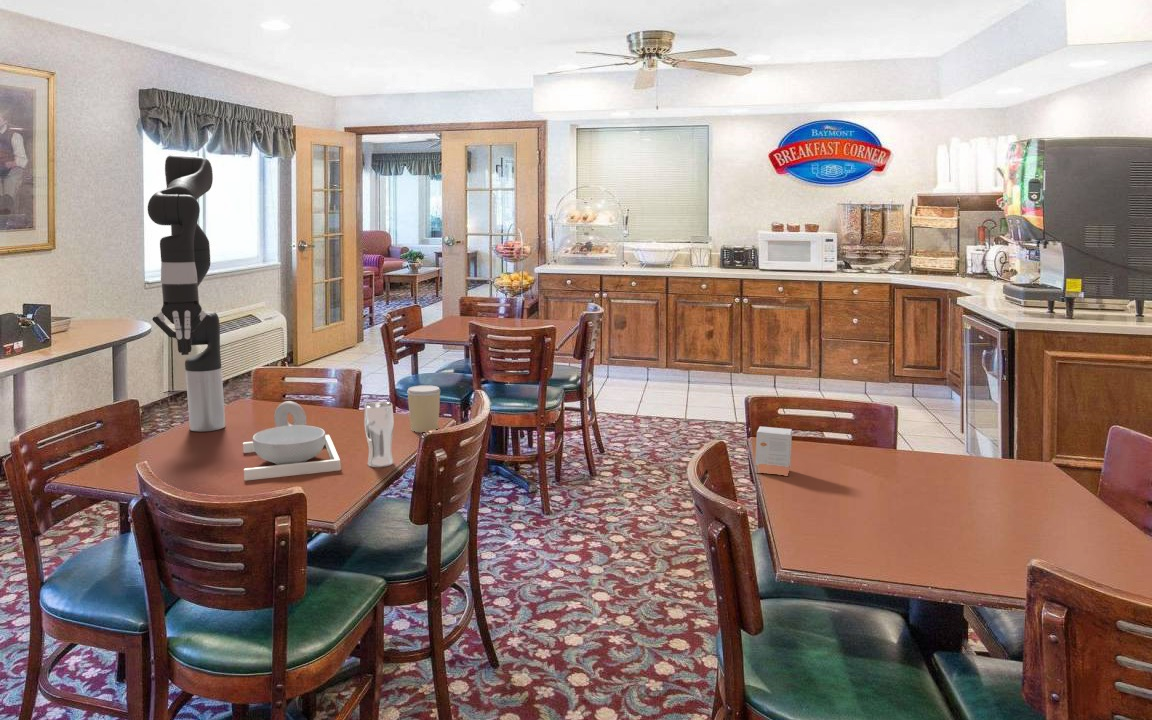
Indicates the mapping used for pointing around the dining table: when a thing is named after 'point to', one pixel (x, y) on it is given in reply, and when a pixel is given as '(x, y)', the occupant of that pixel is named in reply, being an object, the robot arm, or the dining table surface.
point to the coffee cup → (424, 407)
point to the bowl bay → (293, 465)
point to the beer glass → (379, 433)
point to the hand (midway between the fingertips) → (185, 354)
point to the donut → (290, 408)
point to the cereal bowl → (289, 443)
